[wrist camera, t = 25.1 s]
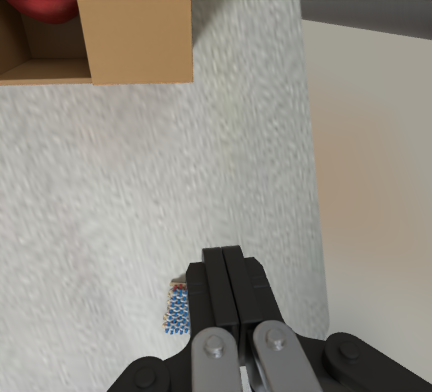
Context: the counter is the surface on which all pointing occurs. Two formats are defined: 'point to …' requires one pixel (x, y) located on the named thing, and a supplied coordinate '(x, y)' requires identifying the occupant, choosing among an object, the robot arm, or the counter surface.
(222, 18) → the counter surface
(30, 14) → the onion
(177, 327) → the woven mat
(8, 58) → the carton
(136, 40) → the flap
